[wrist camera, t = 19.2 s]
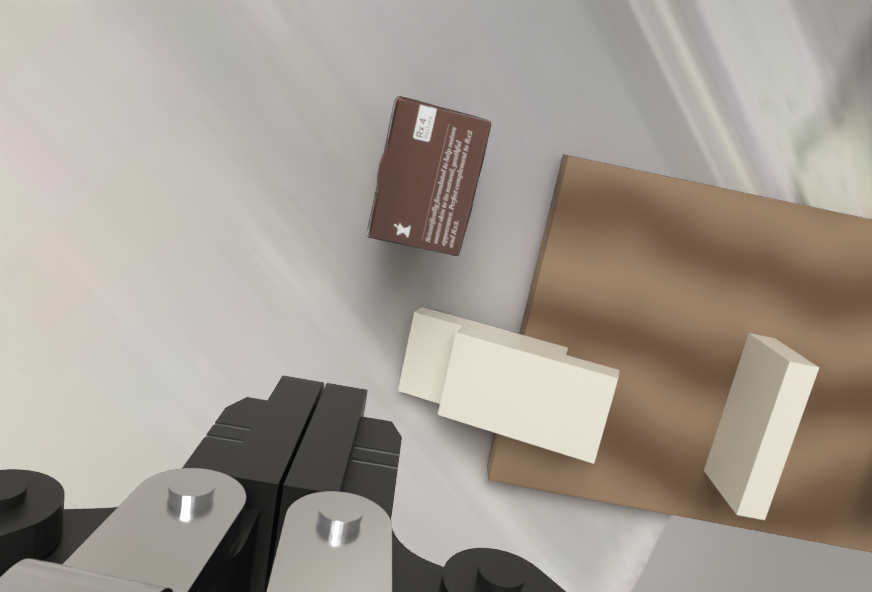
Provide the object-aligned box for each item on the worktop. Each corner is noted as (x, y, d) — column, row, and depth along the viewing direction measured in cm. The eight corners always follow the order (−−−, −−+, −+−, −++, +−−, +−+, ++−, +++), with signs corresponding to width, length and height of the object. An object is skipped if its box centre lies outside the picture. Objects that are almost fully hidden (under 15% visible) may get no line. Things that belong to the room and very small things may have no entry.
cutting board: (563, 154, 41) (568, 156, 39) (1008, 248, 42) (1032, 254, 40) (487, 466, 46) (488, 480, 44) (888, 542, 47) (905, 558, 45)
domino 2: (595, 452, 40) (444, 405, 42) (619, 370, 39) (462, 325, 41) (594, 463, 39) (437, 414, 41) (618, 378, 37) (455, 332, 39)
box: (454, 221, 42) (459, 262, 30) (378, 203, 42) (355, 237, 30) (479, 118, 40) (495, 119, 29) (401, 99, 40) (385, 92, 29)
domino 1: (547, 426, 42) (406, 383, 44) (568, 347, 41) (422, 306, 43) (543, 436, 41) (397, 390, 43) (565, 354, 40) (414, 312, 42)
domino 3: (748, 332, 42) (703, 470, 44) (789, 361, 37) (736, 514, 39) (775, 338, 42) (728, 475, 44) (819, 367, 37) (764, 520, 39)
